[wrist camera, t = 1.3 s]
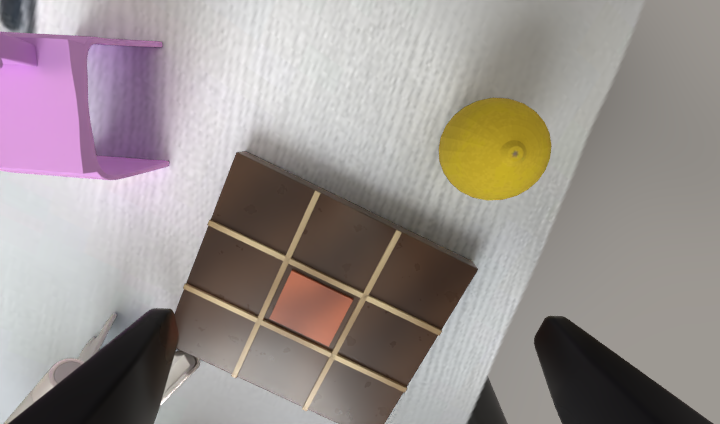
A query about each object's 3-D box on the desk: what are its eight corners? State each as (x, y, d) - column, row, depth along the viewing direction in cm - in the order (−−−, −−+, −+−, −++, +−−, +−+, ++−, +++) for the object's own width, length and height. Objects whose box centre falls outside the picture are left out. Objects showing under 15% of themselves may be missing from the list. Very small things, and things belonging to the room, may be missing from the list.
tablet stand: (145, 419, 30) (56, 523, 22) (72, 360, 29) (-47, 446, 21) (205, 359, 28) (132, 448, 20) (129, 295, 28) (22, 361, 20)
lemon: (463, 87, 23) (504, 62, 15) (533, 134, 23) (608, 135, 15) (414, 159, 24) (428, 172, 16) (481, 203, 24) (526, 237, 16)
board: (473, 261, 25) (479, 270, 23) (374, 424, 29) (374, 442, 27) (245, 150, 25) (235, 151, 23) (174, 331, 28) (161, 344, 26)
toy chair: (74, 165, 26) (-336, 207, 11) (59, 36, 24) (-464, -121, 9) (183, 173, 25) (-95, 229, 11) (177, 42, 23) (-175, -113, 9)
